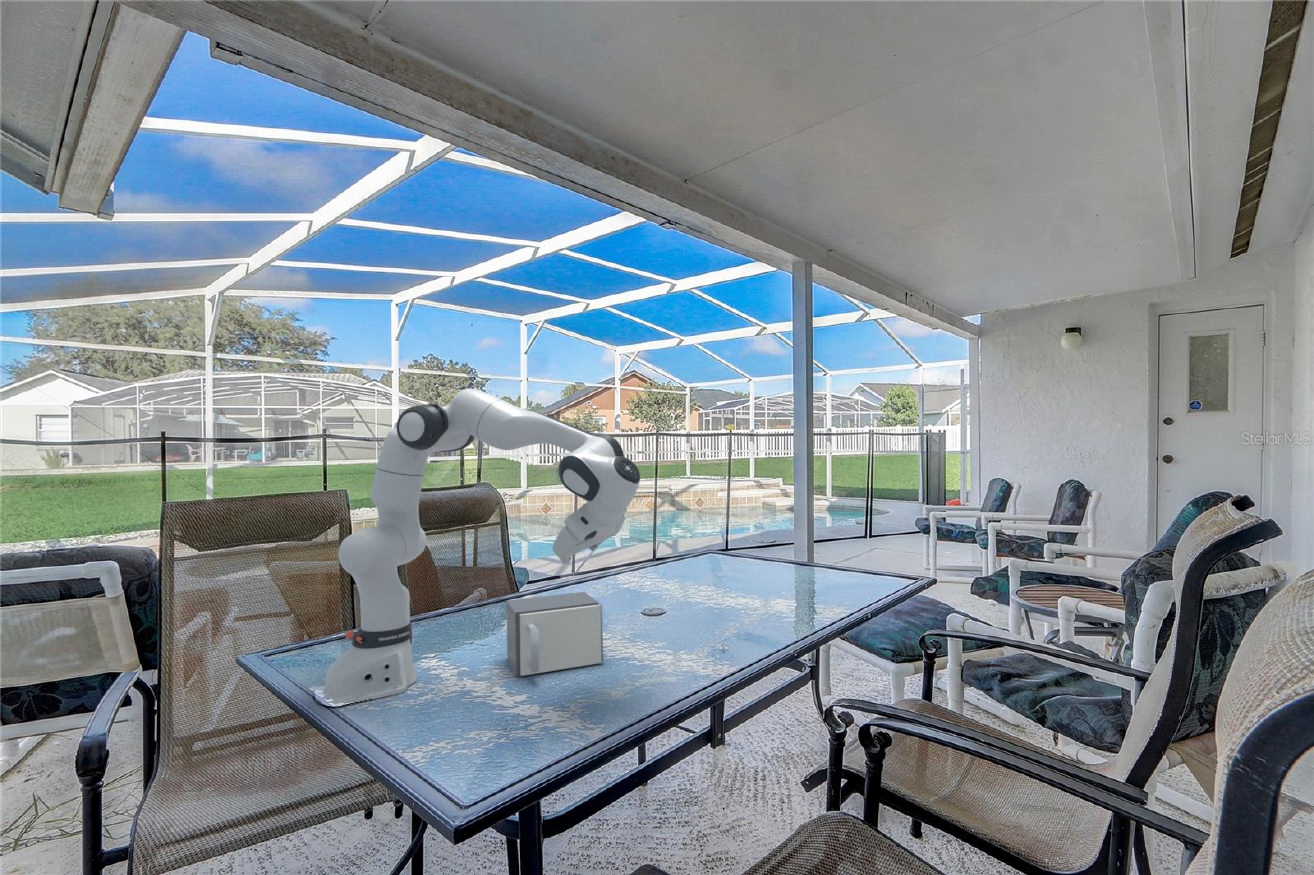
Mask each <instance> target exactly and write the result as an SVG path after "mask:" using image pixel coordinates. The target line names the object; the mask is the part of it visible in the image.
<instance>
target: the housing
mask: <svg viewBox="0 0 1314 875" xmlns="http://www.w3.org/2000/svg"><path fill="white" fill-rule="evenodd" d="M592 605H600V603H599V601H597V600H596V599H595V598H594V597H592V596H591V595H589V594H588V593H586V592H585V591H581V592H579V591H578V592H572V593H570V592H569V593H563V594H553V595H551V594H550V595H544V596H535V597H527V598H516V599H508V600H506V645H507V646H506V654H507V656H506V657H507V658H506V659H507V662H508V664H509V665H510V667H511V670H512V671H513V673H514V675H515V677H522V676H521V675H520V618H519V614H526V613H534V612H543V611H551V610H559V609H567V608H575V607H583V606H592Z"/></svg>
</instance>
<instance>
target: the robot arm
mask: <svg viewBox="0 0 1314 875" xmlns="http://www.w3.org/2000/svg"><path fill="white" fill-rule="evenodd" d="M475 439H477V440H478V441H481V442H482V443H484V444H486V445H488V446H489V447H493V448H495V449H498V450H503V451H512V450H517V449H520V448H524V447H527V446H528V447H529V446H533V445H540V444H541V445H542V444H545V445H546V444H547V445H552V446H556V447H558V448H560V449H563V450H565V451H567V452H569V453H568V454H566V456H564V457H563V458H562V459H561V460H560V462H559V464H558V471H557V472H558V477H559V479H560V482H561V484H562V485H563V487H564V488H566V490H568V491H569V492H571V493H573V494H574V495H576V496H577V497H579V498H581V499H582V500H584V501H586V502H585V503H583V504H582V505H581V506H580V507H579V508H578V509H576V510H575V511H574V512H572V513H571V514H569V515H567V516H566V517H565V518H564V526H563V527H562V528H561V529H560V530H559V532H558V534H557V537H556V538H555V540H554V542H553V545H552V551H553V552H554V554H555V555H556V556H557V557H558V559H560V561H561V563H562V564H563V565H566V564H569V563H570V562H571V560H572V559H573V558H572V556H574V555H576V554H578V553H580V552H582V551H585V550H586V549H590V551H591V552H594V551H596V550H597V549H598V547H599V546H600V545H602V543H604V542H605V541H606V540H608V539H611V538H612V537H615V536H617V534H618V533H620V531H621V529H622V527H623V525H624V523H625V521H626V516H625V515H626V512H627V508H628V507H629V506H630V504H631V503H632V500H633V499H634V497H635V495H636V493H637V491H638V488H639V486H640V482H641V473H640V470H639V468H638V467H637V465H636V464H635V462H634V461H632V460H631V459H630V458H628V457H625V455H624V450H623V448H622V445H621V443H619V441H618V440H617V439H616V438H615V437H613V436H612V435H609V434H607V433H600V432H599V433H597V432H591V431H588V430H586V429H583V428H580V427H579V426H575V425H573V424H570V423H568V422H566V421H563V420H560V419H557V418H556V417H552V416H550V415H546V414H542V413H539V412H535V411H532V410H531V411H530V410H527V409H525V408H521V407H519V406H517V405H514V404H512V403H511V402H507V401H505V400H504V399H502V398H499V397H498V396H495V395H493V394H490V393H487V392H485V391H481V390H479V389H475V388H464V389H462V390H461V391H459V392H457V393H456V394H455V395H453V398H452V399H451V402H450V403H448V405H445V406H444V405H443V406H442V405H441V404H440V403H430V404H425V403H424V404H418V405H413V406H411V407H408V408H406V409H404V410H403V411H402V412H401V414H400V415H399V416H398V418H397V421H396V427H394V428H393V429H391V430H390V431H389V432H388V433H387V434H386V437H385V439H384V442H383V444H382V447H381V451H380V453H379V456H378V460H377V464H376V468H375V469H376V470H375V473H374V478H373V484H372V488H371V489H372V490H371V494H370V499H371V502H372V503H373V504H374V506H375V507H376V508H377V516H378V522H377V525H376V526H371V527H366V528H362V529H359V530H358V531H355V532H353V533H352V534H349V535H348V536H346V537H345V538H344V539H343V540H342V542H341V543H340V545H339V548H338V552H337V553H338V556H337V557H338V561H339V563H340V565H341V567H342V568H343V569H344V571H346V573H348V574H350V575H351V577H352V578H353V580H354V582H355V585H356V587H357V591H358V596H359V604H360V605H359V606H360V607H359V608H360V627H359V629H358V630H356V632H355V631H354V630H351V629H349V630H347V631H346V633H345V634H344V636H345V638H346V639H348V641H349V640H350V641H351V642H352V646H350V647H349V648H348V649H347V650H345V652H344V653H343V654H342V655H340V656H339V657H338V658H337V659H336V660H335V661H334V662H332V663H331V664H330V665H329V667H327V670H326V674H325V680H324V684H323V685H322V686H323V687H322V686H321V687H322V688H319V687H318V688H319V689H317V688H316V689H317V690H323V692H322V693H318V694H324V697H322V698H320V699H326V700H329V699H333V701H331V702H326V703H333V704H338V703H351V702H358V701H362V700H367V701H369V700H368V699H372V700H376V699H381V698H384V697H385V698H386V697H389V696H392V695H397V694H398V695H399V694H401V693H404V692H406V691H407V689H408V687H410V686H411V685H413V684H414V683H415V682H416V681H417V680H418V675H417V673H416V672H417V671H416V669H415V665H414V660H413V653H412V642H413V627H412V623H413V622H411V620H410V619H411V616H410V615H411V613H410V612H411V611H410V610H411V609H410V607H411V606H410V605H411V604H410V602H411V601H410V598H411V596H410V595H411V594H410V590H409V589H408V588H407V587H406V586H405V585H403V584H402V582H401V579H400V576H399V571H398V567H399V566H402V565H406V564H409V563H410V562H413V561H414V560H415V559H416V558H417V557H419V556H421V554H422V553H423V552H424V551H425V548H426V547H427V536H426V533H425V531H424V530H423V528H422V526H421V523H420V514H419V512H420V510H419V507H420V506H419V505H420V498H421V492H422V487H423V482H424V481H423V480H424V475H425V470H426V465H427V462H428V459H429V457H430V455H431V454H433V453H434V452H436V453H437V452H438V453H446V452H456V451H461V450H464V449H465V448H467V447H468V446H470V445H472V443H473V442H474V441H475Z"/></svg>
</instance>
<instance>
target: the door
mask: <svg viewBox="0 0 1314 875" xmlns="http://www.w3.org/2000/svg"><path fill="white" fill-rule="evenodd" d="M519 618H520V675H521V676H520V677H523V676H529V675H535V674H541V673H547V672H553V671H560V670H565V669H572V668H577V667H584V666H590V665H591V666H592V665H597V664H603V663H604V648H603V647H604V646H603V645H604V644H603V643H604V642H603V639H604V638H603V604H599V605H592V606H583V607H575V608H567V609H559V610H551V611H543V612H534V613H526V614H519Z"/></svg>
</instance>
